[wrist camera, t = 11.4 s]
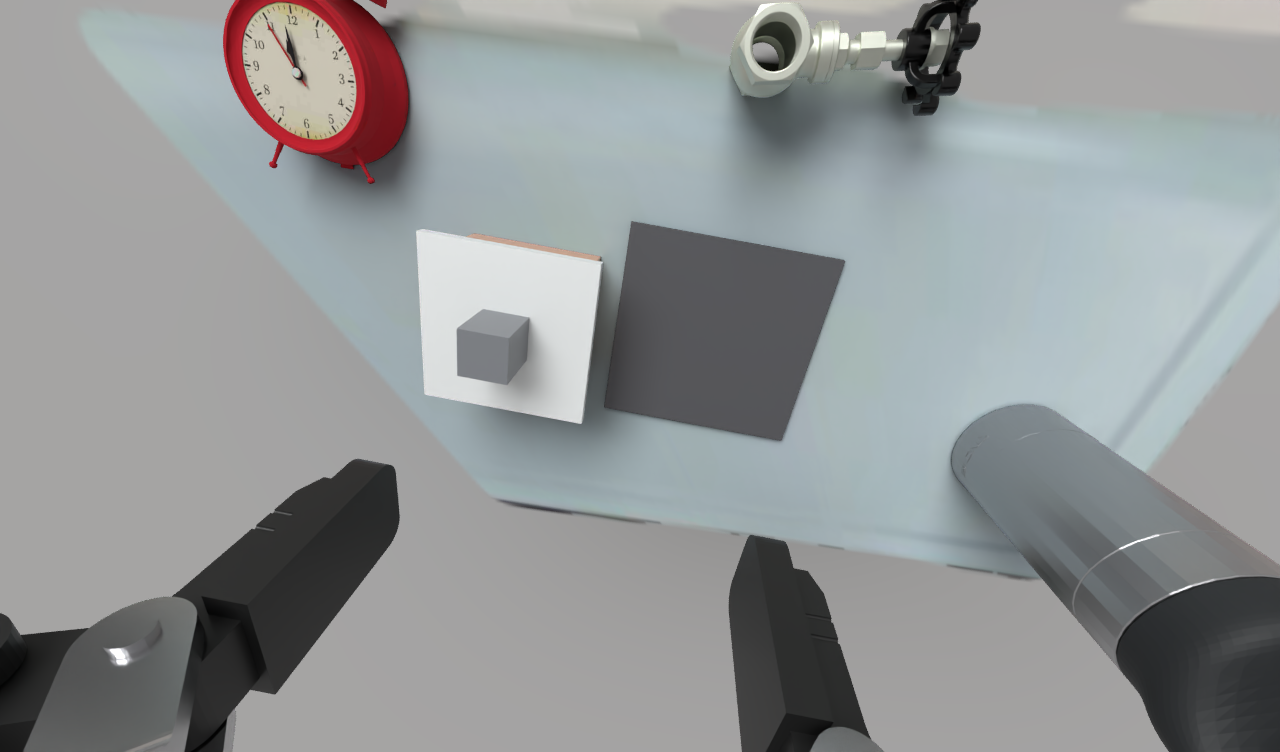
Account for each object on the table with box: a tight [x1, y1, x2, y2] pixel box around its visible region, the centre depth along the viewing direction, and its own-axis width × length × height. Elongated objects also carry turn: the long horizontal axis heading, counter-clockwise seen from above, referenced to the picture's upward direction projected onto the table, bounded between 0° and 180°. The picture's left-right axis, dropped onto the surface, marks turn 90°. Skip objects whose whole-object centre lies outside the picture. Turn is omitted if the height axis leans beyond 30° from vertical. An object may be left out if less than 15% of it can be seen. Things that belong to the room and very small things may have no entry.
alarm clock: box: [223, 0, 408, 184], centre depth 30 cm, size 10×6×15 cm
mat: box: [604, 221, 845, 440], centre depth 38 cm, size 16×16×1 cm
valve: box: [729, 0, 981, 116], centre depth 26 cm, size 7×7×12 cm
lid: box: [416, 229, 603, 424], centre depth 30 cm, size 12×12×5 cm
